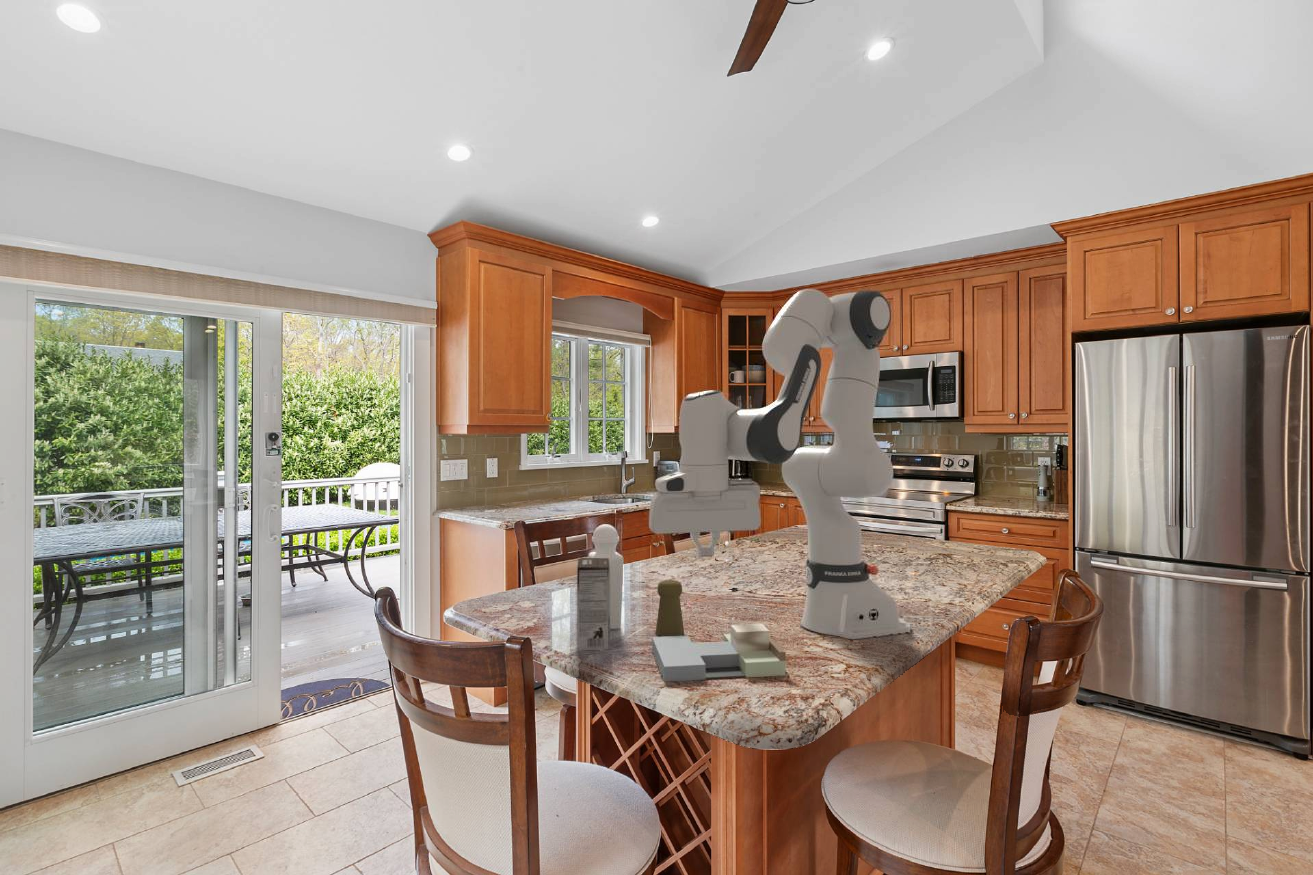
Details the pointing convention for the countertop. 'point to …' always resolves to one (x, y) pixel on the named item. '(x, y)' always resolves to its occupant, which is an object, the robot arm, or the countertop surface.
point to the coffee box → (593, 603)
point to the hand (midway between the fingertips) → (705, 556)
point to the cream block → (749, 637)
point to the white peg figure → (606, 548)
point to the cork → (669, 609)
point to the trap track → (714, 659)
